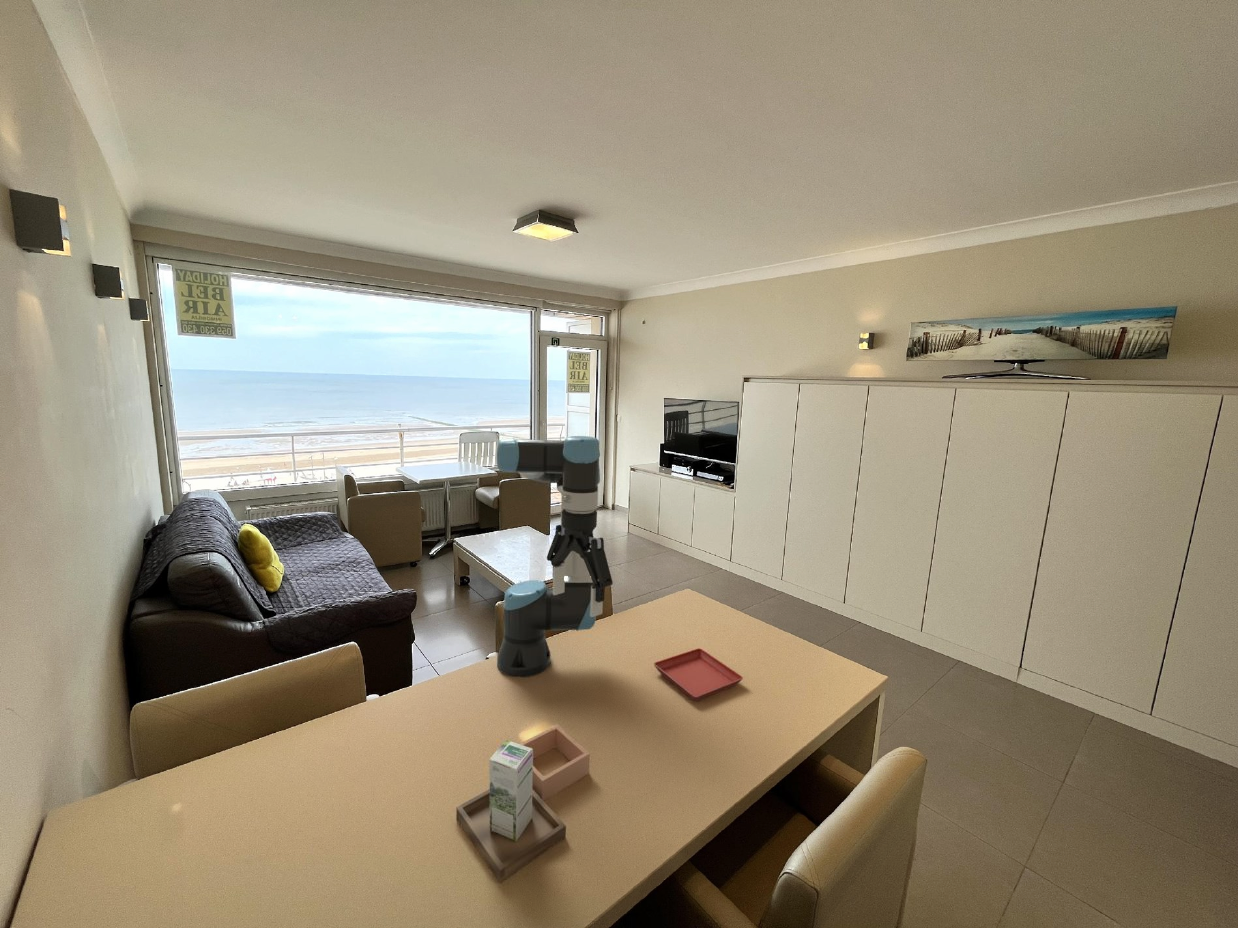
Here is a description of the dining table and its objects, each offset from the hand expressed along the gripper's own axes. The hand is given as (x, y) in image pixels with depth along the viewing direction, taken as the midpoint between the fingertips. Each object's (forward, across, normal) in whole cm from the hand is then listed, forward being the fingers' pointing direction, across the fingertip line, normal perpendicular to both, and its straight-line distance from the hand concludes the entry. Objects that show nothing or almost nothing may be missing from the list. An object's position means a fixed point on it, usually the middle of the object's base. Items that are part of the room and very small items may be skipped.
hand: (576, 603), depth 111 cm
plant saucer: (+33, +3, +41) cm, 53 cm away
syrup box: (+32, +12, -23) cm, 41 cm away
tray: (+32, +12, -23) cm, 42 cm away
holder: (+32, +5, -10) cm, 34 cm away
